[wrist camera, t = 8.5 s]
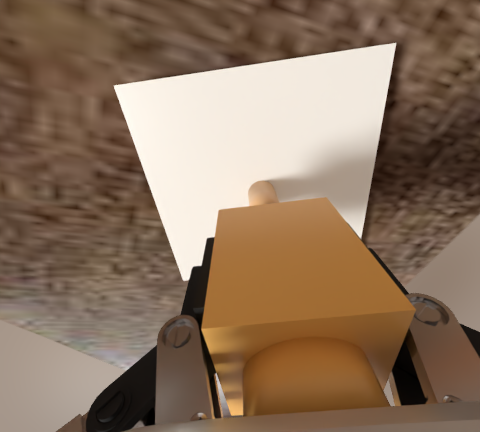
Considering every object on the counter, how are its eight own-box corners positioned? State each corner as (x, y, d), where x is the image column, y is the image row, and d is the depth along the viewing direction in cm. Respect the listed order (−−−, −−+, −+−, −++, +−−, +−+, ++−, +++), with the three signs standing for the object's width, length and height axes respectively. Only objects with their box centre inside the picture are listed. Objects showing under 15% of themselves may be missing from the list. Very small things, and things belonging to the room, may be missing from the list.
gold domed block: (218, 209, 11) (190, 405, 4) (326, 197, 10) (476, 385, 4) (233, 284, 13) (230, 480, 7) (320, 276, 13) (406, 470, 6)
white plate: (122, 85, 14) (62, 86, 9) (383, 45, 13) (469, 24, 8) (185, 271, 22) (171, 324, 17) (350, 253, 21) (385, 304, 17)
